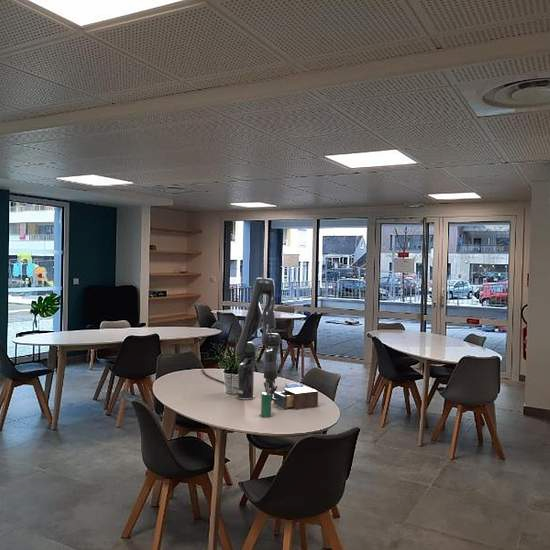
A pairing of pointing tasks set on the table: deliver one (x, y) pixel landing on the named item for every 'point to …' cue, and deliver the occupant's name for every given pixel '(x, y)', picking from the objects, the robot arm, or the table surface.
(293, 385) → the hippopotamus toy
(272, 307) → the robot arm
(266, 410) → the can
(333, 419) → the table surface
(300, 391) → the cabinet
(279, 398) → the drawer
